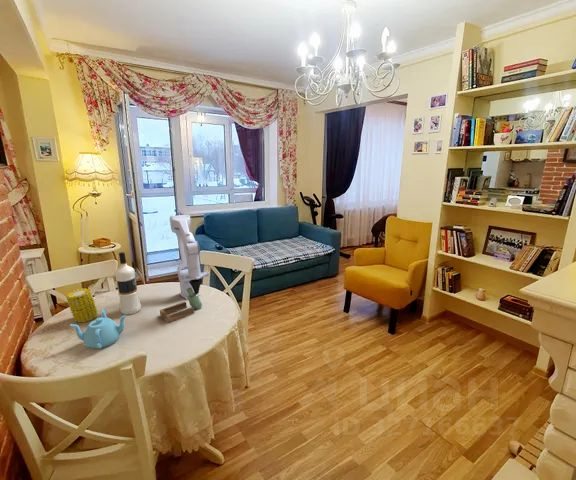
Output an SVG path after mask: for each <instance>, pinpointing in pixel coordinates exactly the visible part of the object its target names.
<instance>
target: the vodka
mask: <svg viewBox="0 0 576 480" xmlns="http://www.w3.org/2000/svg"><path fill="white" fill-rule="evenodd" d="M118 258H119V264H120V266H119V267H118V268H116V270H115V271H114V276H115V280H116V286H117V290H118V298H119V305H120V306H119V312H120V314H122V315H127V316H128V315H133V314H136V313H138V312H139V311H141V309H142V304H141V301H140V299H139V290H138V287H137V280H136V271H135V268H134V267H132V266H130V265H128V264H127V258H126V252H124V251H121V252H118Z"/></svg>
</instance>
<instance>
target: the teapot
mask: <svg viewBox="0 0 576 480" xmlns="http://www.w3.org/2000/svg"><path fill="white" fill-rule="evenodd" d="M127 316H128V315H125V314H123V315H122V316H121V317H120V318H119V325H118V324H117V322H115V321H114V320H113V319H111V318H109V317H108V316H107V314H106V309H105V308H102V309H101V317H97V318H96V319H93V320H91V322H90V323H89V324H88V325H87V326H86V329H85V330H84V331H82V330H81V328H80V326H79V325H78V324H74V323H71V324H69V327H73V328H74V330H75V332H76V336H77V338H78V340H80V341H82V342H83V344H84V346H85V347H87V348H90V349H93V350H95V349H96V350H98V349H102V348H106V347H109V346H111V345H113V344H114V343H115V342H117V341H118V340H119V338H120V337H121V335H122V332H123V331H125V321H124V320H125V318H126V317H127Z"/></svg>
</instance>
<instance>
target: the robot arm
mask: <svg viewBox="0 0 576 480" xmlns="http://www.w3.org/2000/svg"><path fill="white" fill-rule="evenodd" d="M169 223H170V224H169V225H170V228H171V232H172V233H174V234H175V235H176V238H177V244H178V249H179V256H180V259H181V263H180V264H179V265H178V267H177V276H178V281H179V288H180V289H179V290H180V293H178V295H180V296H181V297H182V298H184V299H185V300H188V299H187V296H188V295H189V294H188V292H187V289H188V288H192V290H193V292H194V293H196V294H198V297H199V296H201V293H200V287H201V285H202V282H203V279H202V278H205V277H210V272H209V271H203V272H202V271H201V264H200V256H199V255H200V253H201V249H200V248H201V247H200V244H199V242H198V241H197V240H196V238H195V237H194V234H193V233H192V232H190V229H191V224H192V221H191V216H190V214H188V213H187V214H179V215H170V216H169Z"/></svg>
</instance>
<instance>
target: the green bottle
mask: <svg viewBox="0 0 576 480" xmlns="http://www.w3.org/2000/svg"><path fill="white" fill-rule="evenodd" d="M187 292H188V294H189V295H188V296H187V299H186V300H187V301H188V303H189V305H190V308H191V307H193V308H194V311H196V310H199V309H201V308H202V306H203V303H202V301H201V299H200V297H199V296H198V294H196V293H194V292H193V290H192V288H188V289H187Z"/></svg>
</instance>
